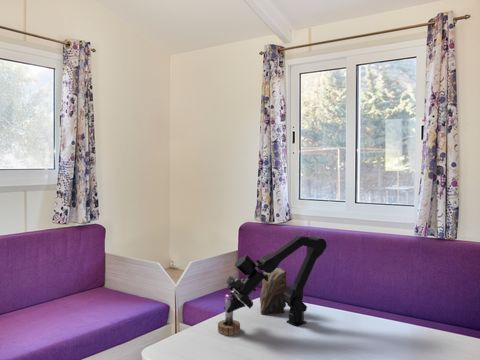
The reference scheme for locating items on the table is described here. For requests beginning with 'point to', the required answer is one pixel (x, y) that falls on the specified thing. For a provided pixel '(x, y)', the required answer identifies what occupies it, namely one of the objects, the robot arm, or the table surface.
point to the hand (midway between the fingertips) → (226, 310)
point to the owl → (273, 292)
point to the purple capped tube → (227, 304)
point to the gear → (228, 328)
